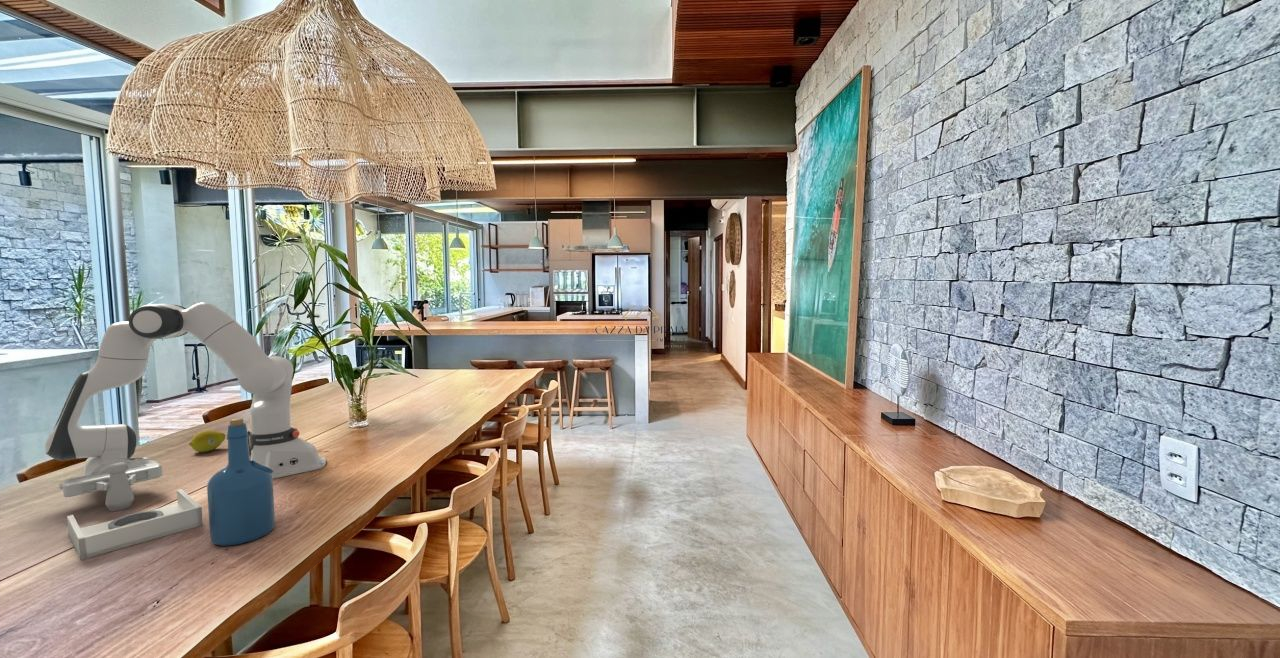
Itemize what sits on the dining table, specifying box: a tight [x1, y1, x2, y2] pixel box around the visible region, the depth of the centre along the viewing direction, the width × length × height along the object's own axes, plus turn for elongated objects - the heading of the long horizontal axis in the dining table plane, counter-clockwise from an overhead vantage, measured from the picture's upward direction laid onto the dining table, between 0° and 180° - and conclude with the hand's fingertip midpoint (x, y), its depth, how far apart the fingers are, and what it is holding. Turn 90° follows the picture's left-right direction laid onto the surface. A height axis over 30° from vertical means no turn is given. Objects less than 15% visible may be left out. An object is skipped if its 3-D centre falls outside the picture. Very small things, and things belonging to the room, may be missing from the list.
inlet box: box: [66, 488, 204, 561], centre depth 132 cm, size 20×22×5 cm
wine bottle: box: [206, 417, 276, 547], centre depth 129 cm, size 14×13×30 cm
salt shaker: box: [104, 462, 135, 512], centre depth 145 cm, size 6×6×13 cm
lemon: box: [188, 429, 226, 453], centre depth 196 cm, size 11×8×8 cm
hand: (119, 485), depth 144 cm, fingers closed on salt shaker, 3 cm apart
